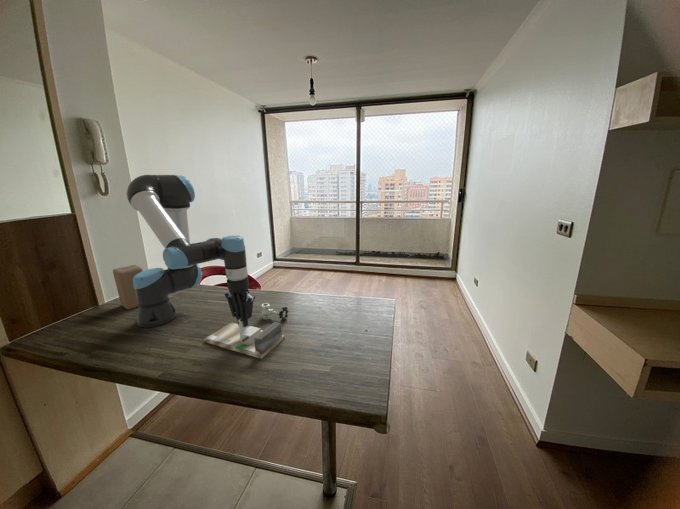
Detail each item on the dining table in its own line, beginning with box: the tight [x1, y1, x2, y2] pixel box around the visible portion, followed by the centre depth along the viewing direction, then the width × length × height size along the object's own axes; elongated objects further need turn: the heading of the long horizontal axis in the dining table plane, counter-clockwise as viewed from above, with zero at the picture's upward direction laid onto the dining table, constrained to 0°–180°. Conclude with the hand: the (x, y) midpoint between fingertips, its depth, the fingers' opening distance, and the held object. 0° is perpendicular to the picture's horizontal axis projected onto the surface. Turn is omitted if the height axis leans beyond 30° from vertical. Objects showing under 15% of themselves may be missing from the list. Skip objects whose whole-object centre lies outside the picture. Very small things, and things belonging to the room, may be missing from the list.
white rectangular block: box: [240, 325, 262, 344], centre depth 101 cm, size 5×9×4 cm, turn 157°
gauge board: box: [204, 321, 286, 360], centre depth 103 cm, size 28×14×7 cm, turn 67°
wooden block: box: [112, 264, 144, 310], centre depth 134 cm, size 10×10×20 cm
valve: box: [261, 302, 289, 322], centre depth 120 cm, size 7×7×12 cm
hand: (244, 333), depth 103 cm, fingers closed
